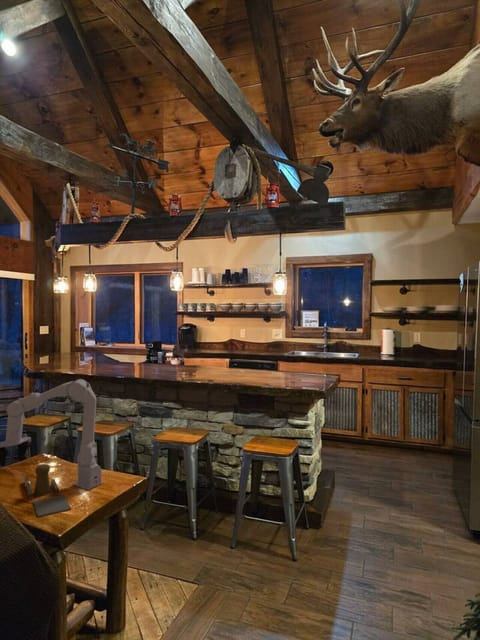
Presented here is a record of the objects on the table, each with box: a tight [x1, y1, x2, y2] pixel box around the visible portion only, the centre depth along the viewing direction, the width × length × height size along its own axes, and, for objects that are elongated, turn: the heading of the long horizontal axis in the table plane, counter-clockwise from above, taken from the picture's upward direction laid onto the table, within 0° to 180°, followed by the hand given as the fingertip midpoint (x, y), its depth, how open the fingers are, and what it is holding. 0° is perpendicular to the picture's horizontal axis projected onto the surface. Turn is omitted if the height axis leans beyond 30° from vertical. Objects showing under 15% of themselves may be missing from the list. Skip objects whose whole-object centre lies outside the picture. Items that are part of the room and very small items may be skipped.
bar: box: [23, 476, 34, 501], centre depth 164 cm, size 19×2×2 cm, turn 33°
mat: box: [32, 494, 72, 518], centre depth 152 cm, size 13×11×1 cm
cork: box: [33, 463, 51, 497], centre depth 163 cm, size 6×6×11 cm
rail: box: [50, 478, 60, 497], centre depth 166 cm, size 12×1×2 cm, turn 33°
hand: (11, 463), depth 167 cm, fingers open, 7 cm apart
